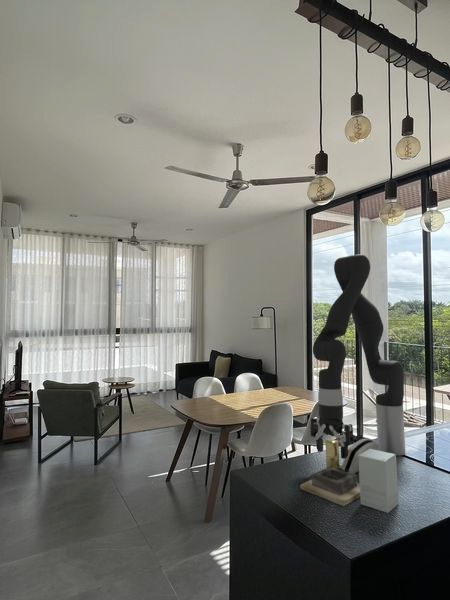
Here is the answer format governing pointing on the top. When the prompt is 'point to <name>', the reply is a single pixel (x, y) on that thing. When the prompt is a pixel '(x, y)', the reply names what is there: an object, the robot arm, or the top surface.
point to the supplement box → (378, 480)
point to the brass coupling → (332, 453)
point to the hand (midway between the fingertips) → (331, 454)
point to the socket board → (332, 496)
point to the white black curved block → (355, 450)
